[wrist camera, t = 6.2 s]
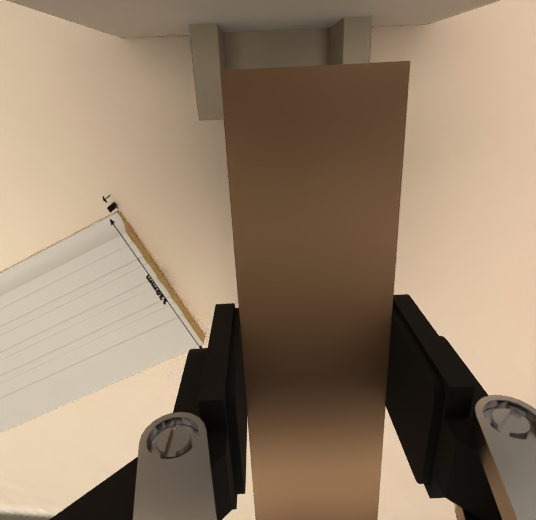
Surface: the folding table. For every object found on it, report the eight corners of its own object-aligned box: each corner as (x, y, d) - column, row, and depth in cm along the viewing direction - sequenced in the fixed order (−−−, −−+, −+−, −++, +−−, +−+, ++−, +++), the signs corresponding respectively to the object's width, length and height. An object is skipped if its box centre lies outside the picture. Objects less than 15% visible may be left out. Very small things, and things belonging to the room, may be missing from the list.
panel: (117, 11, 20) (-120, -111, 7) (431, -4, 20) (729, -147, 8) (135, 117, 22) (-25, 165, 10) (420, 103, 22) (639, 133, 10)
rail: (234, 86, 14) (219, 70, 8) (351, 80, 14) (410, 60, 8) (259, 449, 19) (260, 573, 14) (342, 444, 19) (374, 567, 14)
